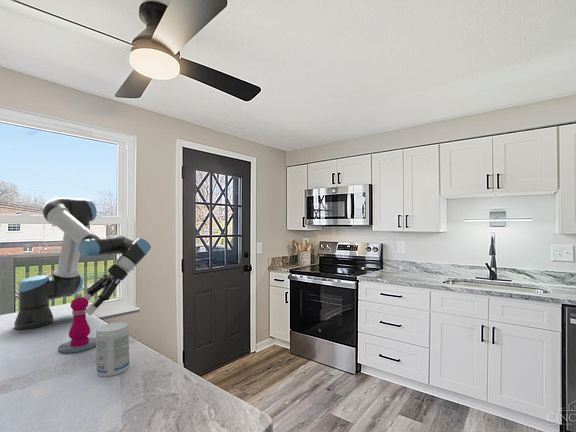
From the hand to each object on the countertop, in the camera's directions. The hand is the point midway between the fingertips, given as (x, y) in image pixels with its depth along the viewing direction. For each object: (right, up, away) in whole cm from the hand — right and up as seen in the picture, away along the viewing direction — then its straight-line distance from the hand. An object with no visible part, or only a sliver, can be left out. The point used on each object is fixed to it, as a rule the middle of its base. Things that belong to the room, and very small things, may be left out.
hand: (82, 310), depth 128 cm
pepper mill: (-1, -13, 0) cm, 13 cm away
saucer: (-1, -14, 0) cm, 14 cm away
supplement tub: (+25, -13, -23) cm, 36 cm away
